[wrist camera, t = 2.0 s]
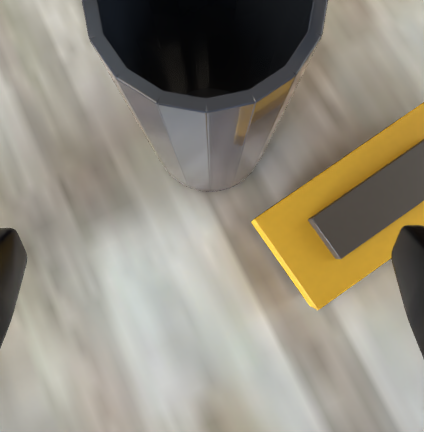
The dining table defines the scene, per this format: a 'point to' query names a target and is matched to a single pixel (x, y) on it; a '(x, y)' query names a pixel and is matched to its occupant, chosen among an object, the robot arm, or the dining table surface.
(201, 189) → the tumbler
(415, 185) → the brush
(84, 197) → the dining table surface
